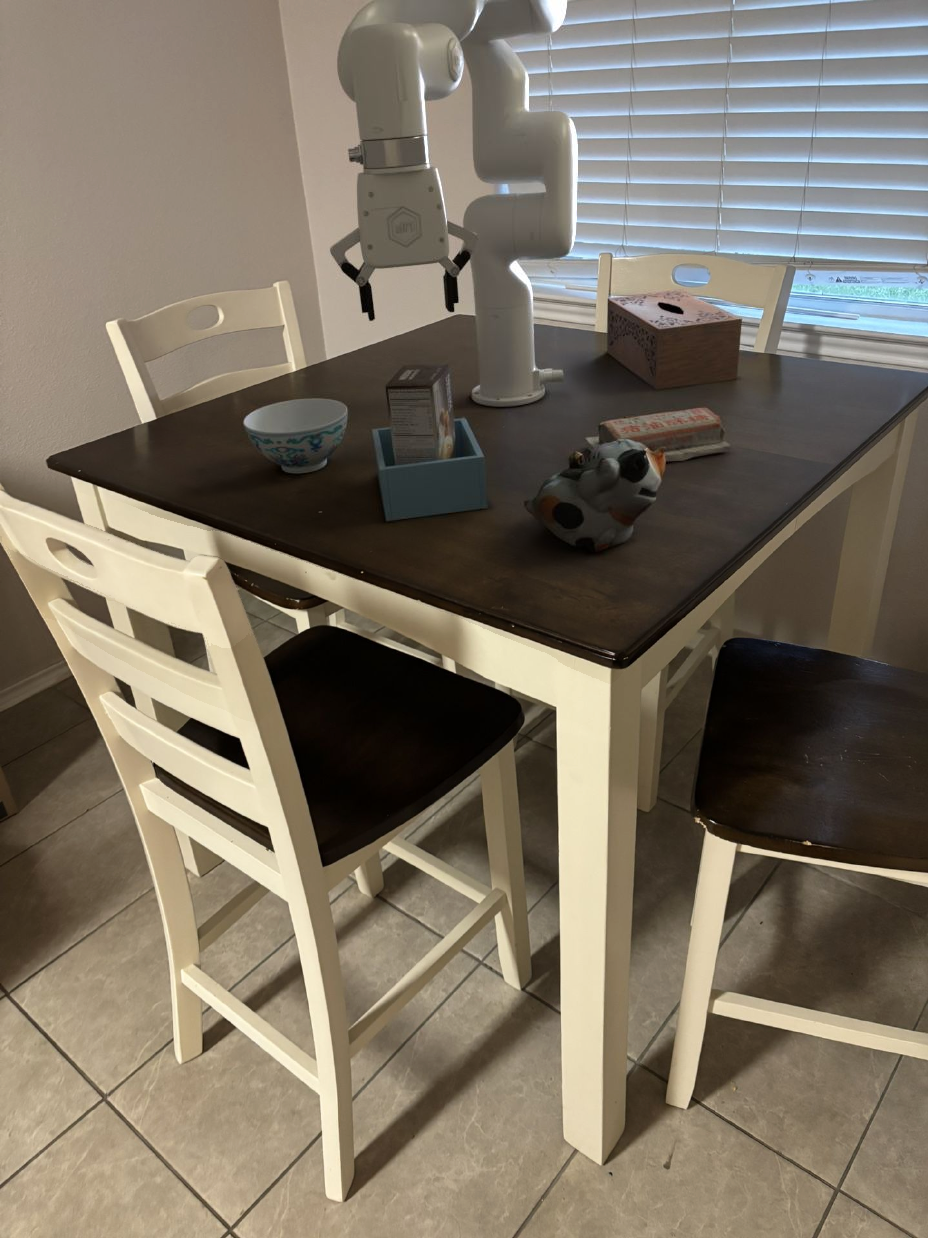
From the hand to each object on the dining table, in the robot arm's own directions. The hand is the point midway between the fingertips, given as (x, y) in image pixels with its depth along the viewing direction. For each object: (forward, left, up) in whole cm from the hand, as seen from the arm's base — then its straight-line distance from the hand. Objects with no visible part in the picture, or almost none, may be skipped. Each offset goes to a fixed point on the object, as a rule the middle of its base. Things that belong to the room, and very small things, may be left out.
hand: (410, 314), depth 108 cm
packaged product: (-33, -4, -24) cm, 41 cm away
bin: (0, 0, -23) cm, 23 cm away
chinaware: (+17, -16, -24) cm, 33 cm away
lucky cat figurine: (-18, +18, -24) cm, 35 cm away
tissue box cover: (-49, -44, -24) cm, 70 cm away
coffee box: (0, 0, -24) cm, 24 cm away
